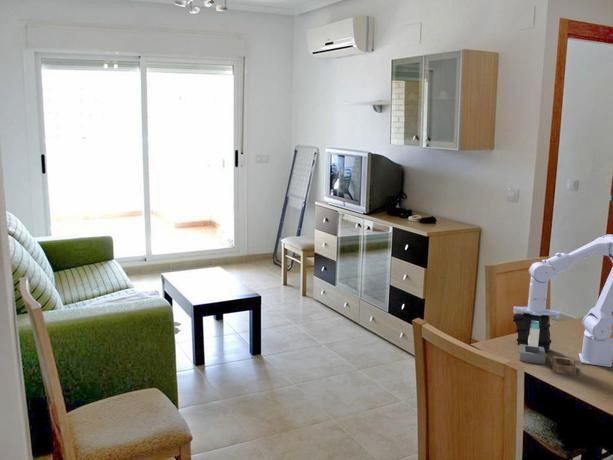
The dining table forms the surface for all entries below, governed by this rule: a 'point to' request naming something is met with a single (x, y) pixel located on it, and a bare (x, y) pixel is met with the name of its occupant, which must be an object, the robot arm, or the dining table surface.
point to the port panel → (532, 354)
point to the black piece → (523, 337)
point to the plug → (534, 334)
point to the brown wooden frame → (563, 365)
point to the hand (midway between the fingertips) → (533, 335)
